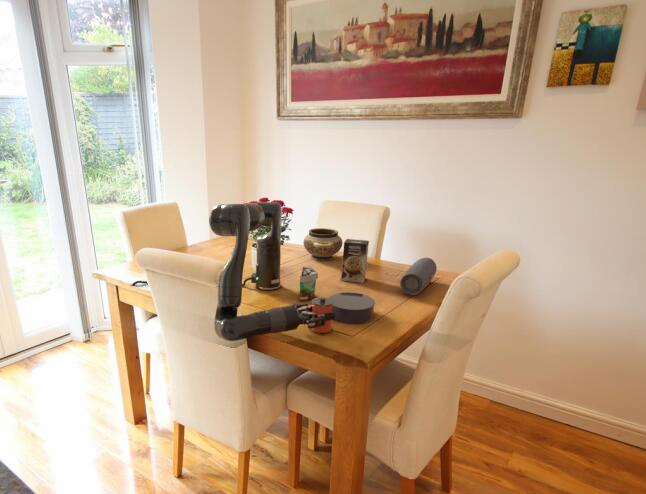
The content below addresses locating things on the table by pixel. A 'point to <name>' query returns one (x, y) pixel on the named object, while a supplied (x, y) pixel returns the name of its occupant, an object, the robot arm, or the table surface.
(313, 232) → the ceramic bowl
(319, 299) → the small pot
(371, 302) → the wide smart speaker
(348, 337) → the table surface
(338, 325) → the table surface
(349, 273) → the coffee box
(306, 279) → the food container
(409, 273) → the bluetooth speaker
